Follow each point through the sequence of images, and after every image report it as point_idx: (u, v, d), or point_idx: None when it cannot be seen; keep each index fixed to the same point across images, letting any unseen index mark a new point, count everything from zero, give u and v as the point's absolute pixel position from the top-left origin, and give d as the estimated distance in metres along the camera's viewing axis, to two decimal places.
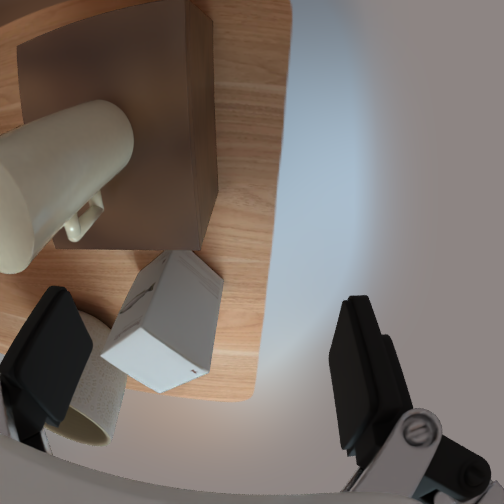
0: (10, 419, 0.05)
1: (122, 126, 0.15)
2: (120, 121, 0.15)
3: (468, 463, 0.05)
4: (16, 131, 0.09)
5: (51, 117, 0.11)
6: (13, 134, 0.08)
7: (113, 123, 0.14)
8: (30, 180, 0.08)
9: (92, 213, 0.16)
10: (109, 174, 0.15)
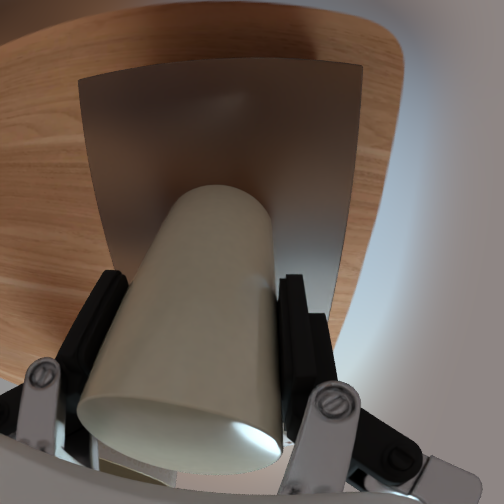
0: (61, 416, 0.06)
1: (272, 233, 0.13)
2: (269, 227, 0.13)
3: (396, 445, 0.06)
4: (202, 317, 0.07)
5: (217, 255, 0.09)
6: (206, 330, 0.07)
7: (269, 235, 0.12)
8: (278, 415, 0.06)
9: None
10: None
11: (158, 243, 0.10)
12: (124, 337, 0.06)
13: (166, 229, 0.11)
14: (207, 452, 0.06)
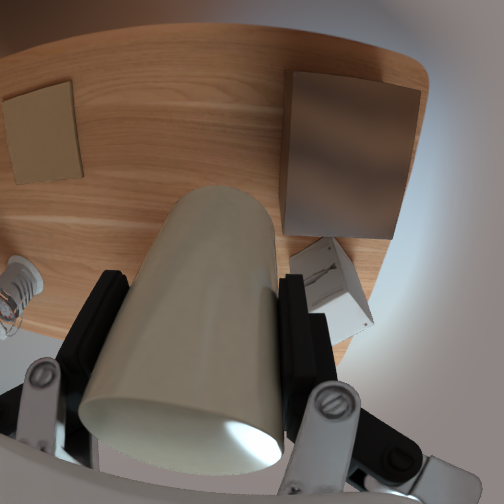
0: (61, 416, 0.06)
1: (272, 234, 0.13)
2: (270, 228, 0.13)
3: (396, 446, 0.06)
4: (204, 318, 0.07)
5: (219, 256, 0.09)
6: (208, 331, 0.07)
7: (269, 236, 0.12)
8: (279, 416, 0.06)
9: None
10: None
11: (159, 244, 0.10)
12: (126, 338, 0.06)
13: (167, 230, 0.11)
14: (209, 453, 0.06)
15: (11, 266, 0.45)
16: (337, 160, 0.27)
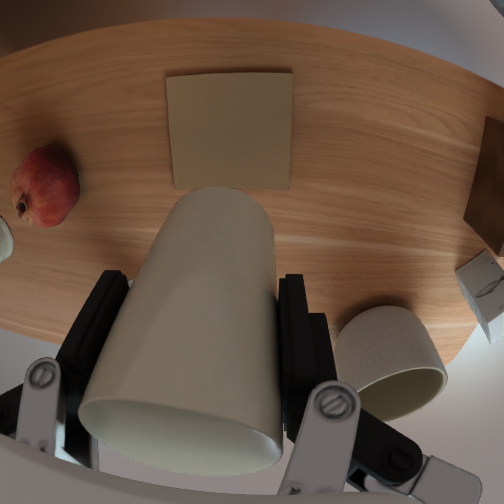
0: (60, 416, 0.06)
1: (272, 235, 0.13)
2: (269, 229, 0.13)
3: (396, 445, 0.06)
4: (203, 320, 0.07)
5: (218, 258, 0.09)
6: (207, 333, 0.07)
7: (269, 237, 0.12)
8: (278, 417, 0.06)
9: None
10: None
11: (158, 245, 0.10)
12: (125, 340, 0.06)
13: (166, 231, 0.11)
14: (208, 454, 0.06)
15: None
16: None
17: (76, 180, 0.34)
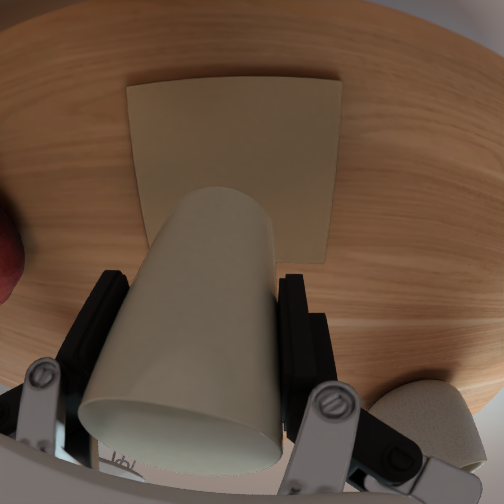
0: (60, 416, 0.06)
1: (272, 235, 0.13)
2: (269, 229, 0.13)
3: (396, 446, 0.06)
4: (202, 320, 0.07)
5: (217, 258, 0.09)
6: (207, 333, 0.07)
7: (269, 237, 0.12)
8: (277, 417, 0.06)
9: None
10: None
11: (158, 246, 0.10)
12: (125, 340, 0.06)
13: (166, 231, 0.11)
14: (208, 454, 0.06)
15: None
16: None
17: (16, 245, 0.22)
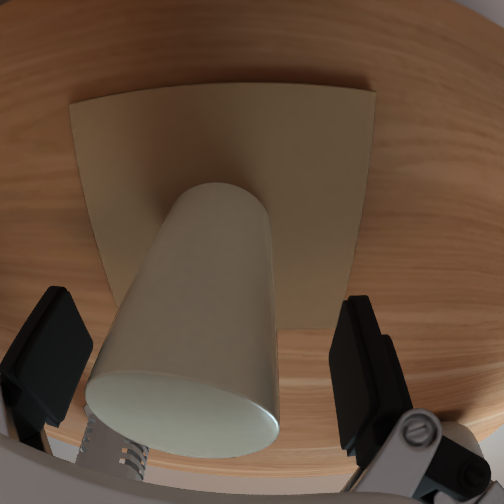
0: (10, 419, 0.05)
1: (269, 228, 0.14)
2: (267, 222, 0.14)
3: (468, 463, 0.05)
4: (204, 301, 0.07)
5: (218, 247, 0.10)
6: (208, 313, 0.07)
7: (266, 230, 0.13)
8: (275, 394, 0.07)
9: None
10: None
11: (162, 236, 0.11)
12: (132, 320, 0.07)
13: (169, 224, 0.11)
14: (208, 431, 0.07)
15: (103, 424, 0.27)
16: None
17: None
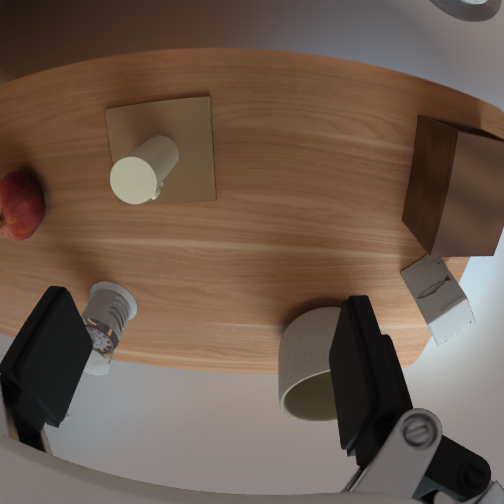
0: (10, 419, 0.05)
1: (175, 149, 0.36)
2: (174, 147, 0.36)
3: (468, 463, 0.05)
4: (142, 151, 0.30)
5: (150, 145, 0.32)
6: (142, 152, 0.30)
7: (172, 148, 0.35)
8: (155, 168, 0.29)
9: (159, 188, 0.38)
10: (171, 170, 0.36)
11: None
12: (125, 155, 0.29)
13: (139, 145, 0.34)
14: (139, 181, 0.29)
15: (101, 293, 0.49)
16: (473, 200, 0.30)
17: (41, 199, 0.38)
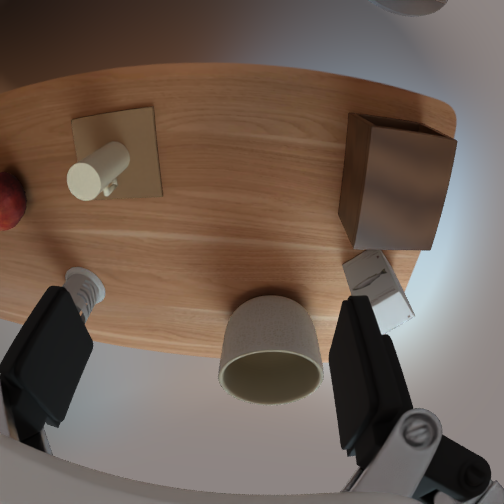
0: (10, 419, 0.05)
1: (125, 153, 0.41)
2: (124, 151, 0.41)
3: (468, 463, 0.05)
4: (92, 157, 0.35)
5: (101, 151, 0.37)
6: (92, 158, 0.34)
7: (121, 152, 0.40)
8: (100, 172, 0.34)
9: (113, 186, 0.42)
10: (120, 171, 0.41)
11: None
12: (79, 161, 0.34)
13: (95, 150, 0.38)
14: (88, 182, 0.34)
15: (73, 277, 0.54)
16: (397, 193, 0.35)
17: (22, 196, 0.43)
